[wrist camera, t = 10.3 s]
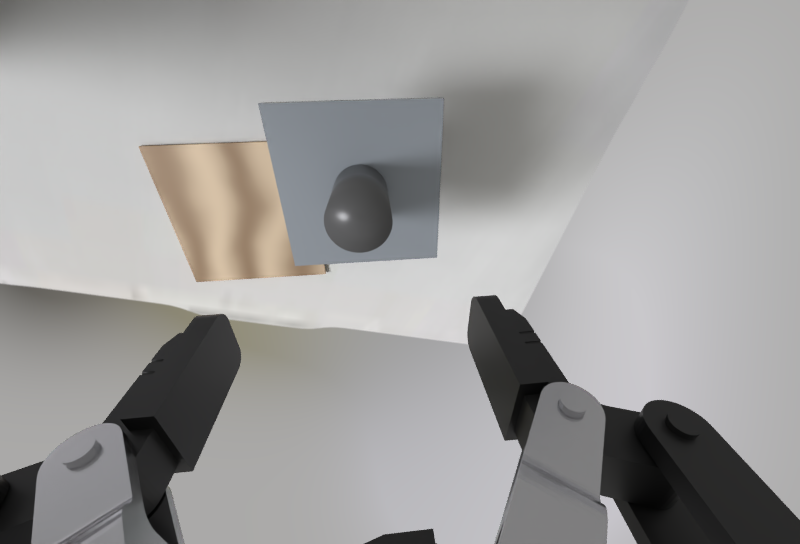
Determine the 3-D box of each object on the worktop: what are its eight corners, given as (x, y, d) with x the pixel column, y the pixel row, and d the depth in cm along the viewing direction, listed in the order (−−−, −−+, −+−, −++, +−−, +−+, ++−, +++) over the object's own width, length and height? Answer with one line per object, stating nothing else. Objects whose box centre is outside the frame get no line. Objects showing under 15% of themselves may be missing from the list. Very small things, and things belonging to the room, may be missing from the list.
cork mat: (198, 279, 40) (196, 282, 39) (141, 145, 31) (138, 146, 31) (325, 271, 41) (325, 273, 40) (303, 139, 32) (302, 140, 32)
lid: (297, 259, 27) (277, 310, 21) (263, 102, 21) (220, 110, 15) (434, 251, 28) (452, 298, 22) (440, 97, 22) (468, 103, 16)
